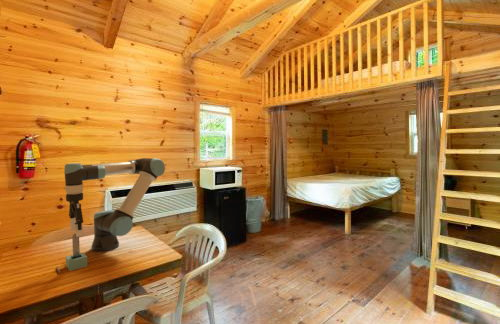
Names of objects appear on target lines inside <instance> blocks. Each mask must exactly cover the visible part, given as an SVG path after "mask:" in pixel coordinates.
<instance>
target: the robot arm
mask: <svg viewBox="0 0 500 324" xmlns="http://www.w3.org/2000/svg"><path fill="white" fill-rule="evenodd" d="M63 170H64V172H63V173H64V181H65V182H64V183H65V187H64V188H63V189H64V190H65V193H66V194H65V201H66V202H69V209H68V210H69V212H68V216H69V225H70V227H69V228H70V231H75V234H76V237H78V236H79V237H82V236H83V235H84V228H83V227H84V226H83V223H84V217H83V210H82V204H81V203H80V201H83V200H84V183H83V181H90V180H91V181H93V180H100V179H101V180H102V179H104V178H105V177H106V176H113V175H122V174H123V175H125V174H129V175H139V176H138V178H137V180H136V181H135V183H134V184H133V186H132V187H131V189H130V191H129V192H128V193H127V196H126V197H125V199H124V200H123V202H122V204H121V205H120V206H119V208H116V209H115V210H114V209H110V210H102V211H97V212H95V213H94V214H93V233H94V237H93V241H92V242H91V246H90V247H91V248H90V249H91V251H92V252H94V253H103V252H109V251H112V250H116V249H117V248H119V247H120V246H119V245H120V241H119V240H118V237H123V236H126V235H128V234H129V233H130V232H131V231H132V229H133V225H134V221H133V220H134V218H135V217H134V213H135V211H136V210H137V208H138V207H139V204H140V203H141V201H142V199H143V198H144V196H145V194H146V193H147V191H148V189H149V188H150V185H151V184H152V183H153V182H156V180H157V178H158V177H161V176H163V175H164V173H165V171H166V166H165V163H164V161H163V160H162V159H160V158H157V157H154V158H150V157H147V158H146V157H143V158H137V159H129V160H128V161H124V162H123V161H121V162H108V163H105V162H104V163H94V164H93V163H91V164H82V163H81V162H80V163H79V162H77V163H66V164H65V165H64V169H63Z"/></svg>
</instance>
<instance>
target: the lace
mask: <svg viewBox="0 0 500 324" xmlns="http://www.w3.org/2000/svg"><path fill="white" fill-rule="evenodd" d="M55 269H56V271H57V273H58V274H61V272H62V271H61V270H60V267H58V266H56V267H55Z"/></svg>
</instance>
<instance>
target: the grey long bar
mask: <svg viewBox="0 0 500 324" xmlns="http://www.w3.org/2000/svg"><path fill="white" fill-rule="evenodd" d="M71 238H72V255H73V259H75V258H79V257H80V253H81V252H80V236H78V237H76V233H73V234H72V236H71Z"/></svg>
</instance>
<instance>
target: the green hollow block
mask: <svg viewBox="0 0 500 324" xmlns="http://www.w3.org/2000/svg"><path fill="white" fill-rule="evenodd" d="M65 265H66V268H67V270H68V271H69V272H71V271H74V270H79V269H81V268H86V267H88V256H87V255H86V254H85V253H84V252H80V257H79V258H75V259H73V254H71V255H67V256H65Z"/></svg>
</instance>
